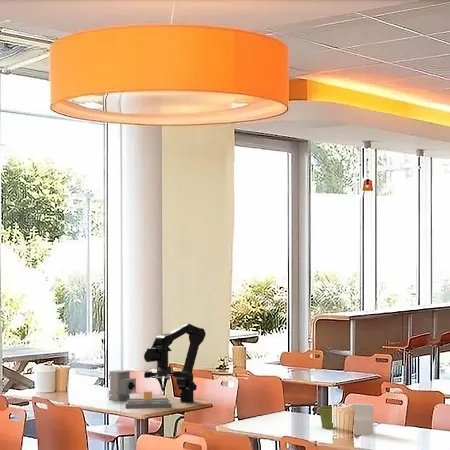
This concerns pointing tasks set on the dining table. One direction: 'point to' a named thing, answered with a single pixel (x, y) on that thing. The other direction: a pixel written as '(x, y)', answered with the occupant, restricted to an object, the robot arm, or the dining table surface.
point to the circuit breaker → (121, 385)
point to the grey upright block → (363, 419)
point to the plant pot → (326, 417)
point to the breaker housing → (148, 403)
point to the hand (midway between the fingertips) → (163, 391)
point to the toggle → (147, 395)
